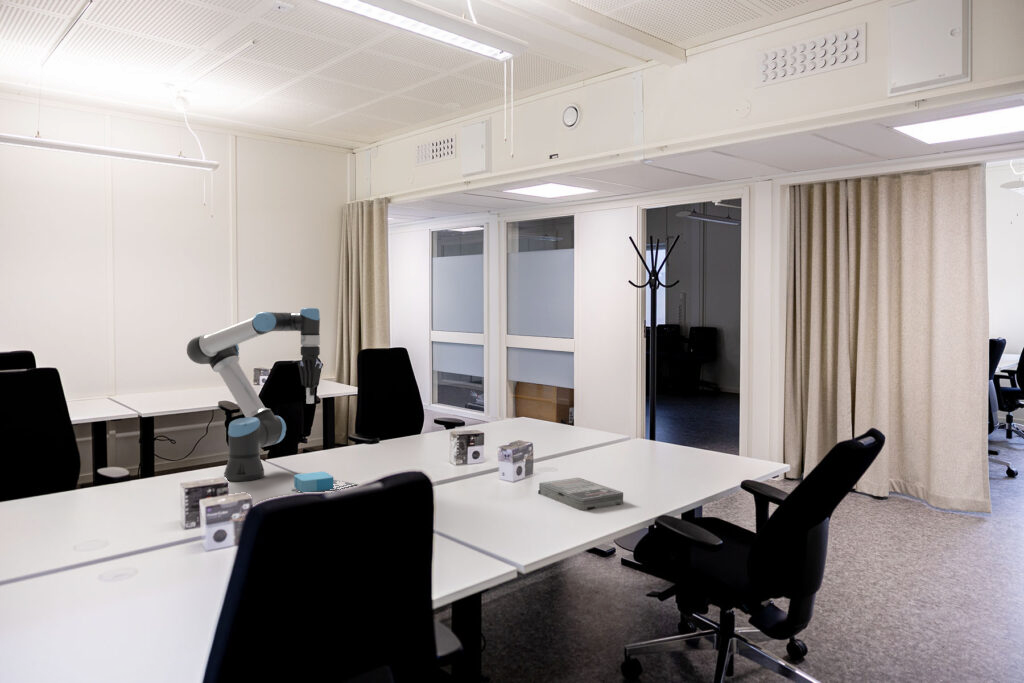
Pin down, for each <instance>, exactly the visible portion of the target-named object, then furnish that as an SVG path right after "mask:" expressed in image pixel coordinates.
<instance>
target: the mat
mask: <svg viewBox="0 0 1024 683" xmlns="http://www.w3.org/2000/svg"><path fill="white" fill-rule="evenodd" d="M337 481H339V482H340V481H342V482H345V484H346V485H343V486H339V485H335V486H339V487H336V489H335V490H339V489H337V488H340V487H344V486H347V485H351V486H348V487H350V488H353V487H357V486H359V483H354V482H349V481H343V480H337V479H333V484H337V483H336V482H337ZM352 484H354V485H352ZM356 485H357V486H356ZM352 486H353V487H352ZM333 487H334V485H333ZM348 487H344V488H346V489H349V488H348ZM333 489H334V488H333ZM341 489H342V490H344V489H343V488H341ZM335 490H323V491H315V492H325V491H335ZM295 491H299V490H298V489H296V488H292V489H291V492H295ZM339 491H340V490H339ZM335 492H336V491H335ZM299 494H303V493H302V492H301V491H300V492H299Z"/></svg>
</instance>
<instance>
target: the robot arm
mask: <svg viewBox="0 0 1024 683" xmlns="http://www.w3.org/2000/svg"><path fill="white" fill-rule="evenodd" d="M320 321H321V317H320V309H319V308H315V307H301V308H300V312H286V311H285V312H276V311H275V312H273V311H271V312H269V311H263V312H262V311H261V312H258V313H256V314H255V315H254V316H253V317H252V318H249V319H246V320H245V321H242V322H239V323H237V324H234V325H231V326H229V327H226V328H223V329H221V330H219V331H215V332H214V333H211V334H209V333H204V334H201V335H198V336H196V337H194V338H192V339H191V340H189V342H188V344H187V347H186V354H187V356H188V358H189V359H190V361H192V362H193V363H195V364H199V365H209V366H210V368H211V370H213V372H215V373H219V375H220V376H221V378H222V380H223V382H224V383H225V385H226V387H227V389H228V391H229V392H230V394H231V396H232V397H233V398H234V400H235V402H236V403H237V405H238V408H240V410H241V412H242V413H243V415H244V417H239V418H236V419H234V420H232V421H230V423H229V425H228V431H227V436H228V460H227V463H226V466H225V469H224V471H223V472H224V473H223V478H224V477H226V478H227V479H228V480H229V482H248V481H255V480H259V479H258V478H260V479H262V478H264V477H265V469H264V465H263V463H262V460H261V457H260V456H261V455H260V448H264V447H268V446H272V445H273V446H274V445H276V444H278V443H280V442H281V441H283V439H284V438H285V436H286V431H287V424H286V422H285V420H284V418H282V417H281V416H279V415H275V414H274V412H273V411H272V409H271V408H267V407H265V405H264V404H263V402H262V400H261V399H260V397H259V395H258V394H257V392H256V391H255V388H254V387H253V385H252V384H251V382H250V380H249V379H248V377H247V376H246V374H245V372H244V370H243V369H242V367H241V366H240V363H239V361H240V357H239V355H240V354H239V353H240V352H239V351H240V347H239V345H240V344H242V343H244V342H247V341H249V340H251V339H254V338H258V337H259V336H262V335H266V334H268V333H270V332H271V333H272V332H300V345H301V347H300V356H302V357H301V361H299V362H297V367H298V370H299V375H300V376H299V377H300V383H301V386H304V387H305V396H306V399H305V401H306V403H305V404H308V405H310V404H311V405H312V404H315V395H316V394H315V391H316V387H319V385H320V379H321V374H322V370H323V369H322V368H324V363H321V361H320V359H319V356H320V354H321V351H320V350H321V349H320V343H321V339H320V338H321V336H320V331H321V330H320V325H321V324H320ZM263 476H264V477H263ZM261 477H262V478H261ZM254 479H255V480H254ZM228 480H227V481H228Z"/></svg>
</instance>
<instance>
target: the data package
mask: <svg viewBox="0 0 1024 683" xmlns="http://www.w3.org/2000/svg"><path fill="white" fill-rule="evenodd" d="M293 477H294V478H293V479H294V480H293V482H294V484H293V485H294V486H293V487H294V489H298V490H299V491H301V492H315V491H323V490H330V489H333V480H334V476H333V475H331V474H330V473H328V472H326V471H316V472H315V471H314V472H307V473H306V472H305V473H297V474H294V476H293Z"/></svg>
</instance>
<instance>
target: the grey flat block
mask: <svg viewBox="0 0 1024 683" xmlns="http://www.w3.org/2000/svg"><path fill="white" fill-rule="evenodd" d="M538 485H539V487H538V488H539V490H538V492H537V493H538V494H539V495H541V496H543V497H546V498H548V499H551V500H552V501H553V500H554V501H555V502H559V503H561V504H563V505H566V506H569V507H571V508H573V509H576V510H578V511H581V512H582V511H583V512H587V511H592V510H596V509H598V510H599V509H603V508H609V507H615V506H621V505H624V492H623V491H620V490H618V489H615V488H611V487H608V486H605V485H602V484H599V483H596V482H594V481H590V480H588V479H584V478H581V477H572V478H564V479H557V480H550V481H543V482H539V484H538Z"/></svg>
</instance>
